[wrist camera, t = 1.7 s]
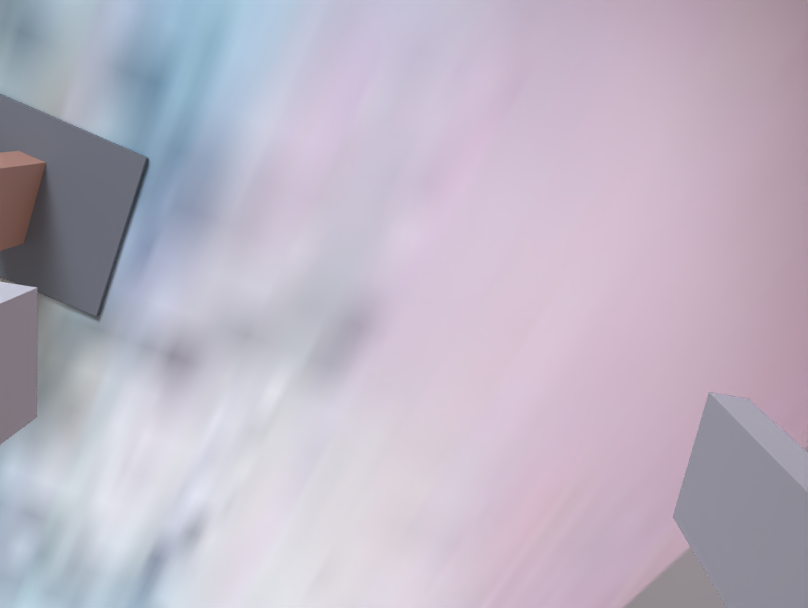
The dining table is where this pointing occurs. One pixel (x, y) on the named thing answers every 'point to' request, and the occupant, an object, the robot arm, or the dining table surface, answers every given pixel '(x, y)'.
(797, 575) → the robot arm
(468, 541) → the dining table surface
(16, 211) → the domino
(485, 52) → the dining table surface
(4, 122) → the mat
